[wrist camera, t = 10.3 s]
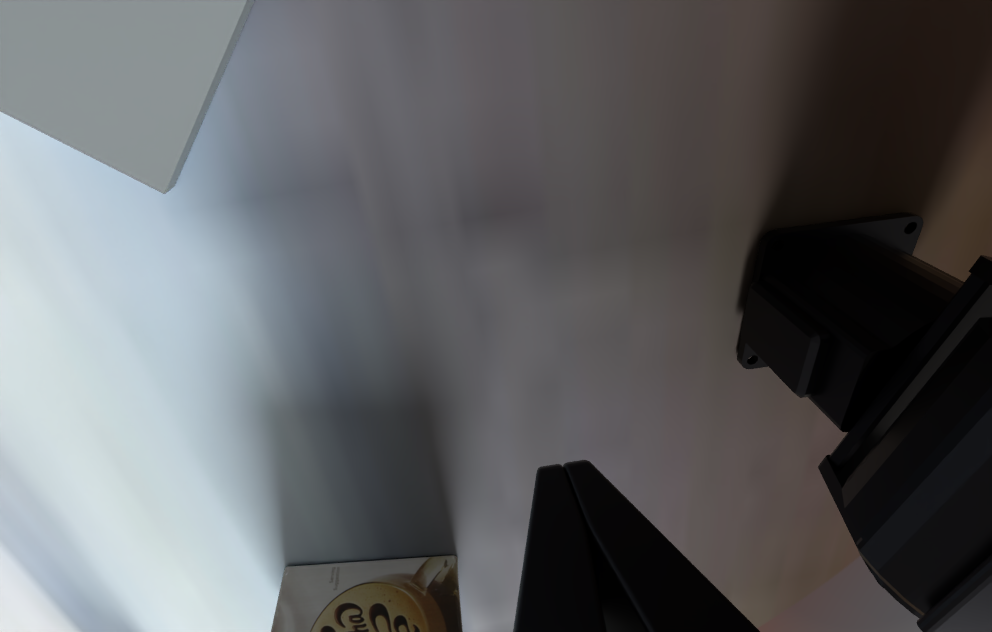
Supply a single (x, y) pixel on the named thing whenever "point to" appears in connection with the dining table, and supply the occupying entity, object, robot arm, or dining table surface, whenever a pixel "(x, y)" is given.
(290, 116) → the dining table surface
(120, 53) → the board
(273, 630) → the coffee box
